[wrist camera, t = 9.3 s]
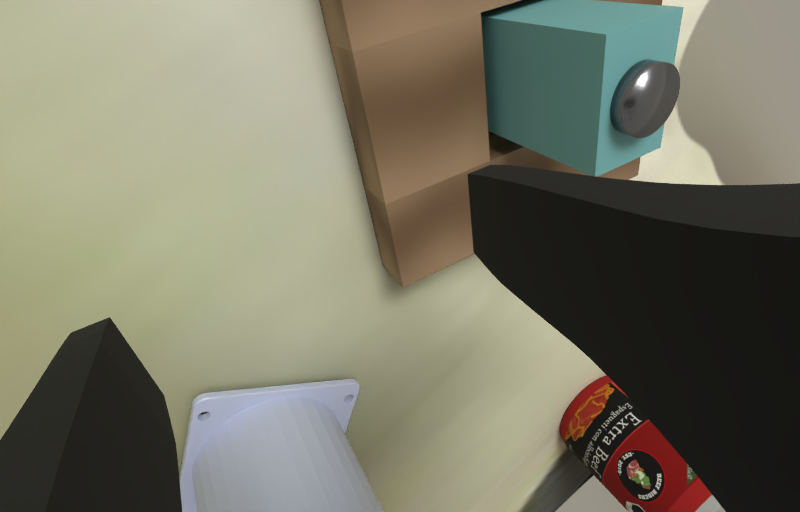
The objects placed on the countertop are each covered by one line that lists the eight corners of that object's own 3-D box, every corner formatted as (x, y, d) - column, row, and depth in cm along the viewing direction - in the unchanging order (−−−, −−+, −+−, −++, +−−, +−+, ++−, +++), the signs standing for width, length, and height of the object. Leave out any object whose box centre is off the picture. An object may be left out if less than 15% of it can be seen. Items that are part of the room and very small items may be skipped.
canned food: (593, 366, 37) (735, 484, 29) (640, 375, 42) (773, 478, 33) (540, 442, 39) (659, 573, 30) (591, 442, 44) (706, 555, 35)
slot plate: (607, 162, 26) (637, 175, 25) (383, 265, 22) (403, 287, 21) (639, -173, 18) (687, -185, 17) (293, -107, 14) (316, -116, 13)
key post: (525, 102, 22) (676, 152, 16) (471, 123, 21) (609, 184, 15) (524, -6, 19) (702, 8, 13) (462, 13, 18) (624, 37, 13)
